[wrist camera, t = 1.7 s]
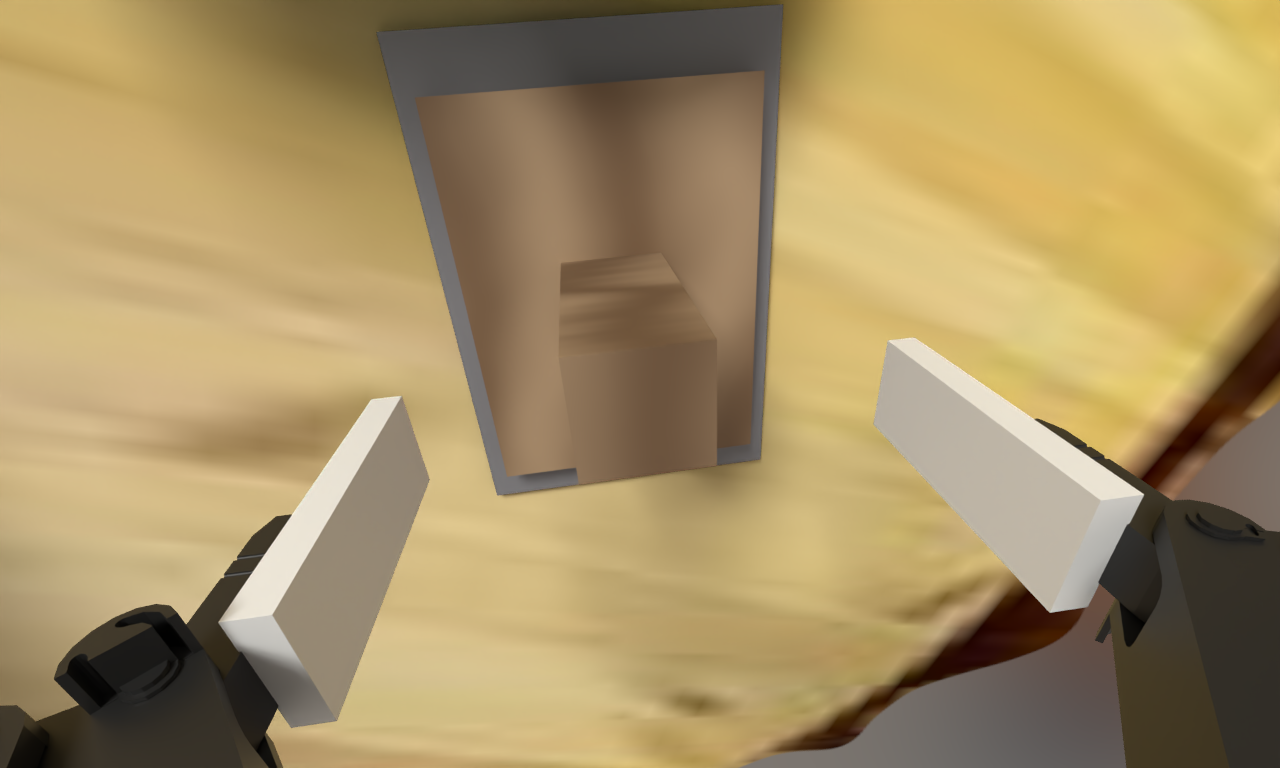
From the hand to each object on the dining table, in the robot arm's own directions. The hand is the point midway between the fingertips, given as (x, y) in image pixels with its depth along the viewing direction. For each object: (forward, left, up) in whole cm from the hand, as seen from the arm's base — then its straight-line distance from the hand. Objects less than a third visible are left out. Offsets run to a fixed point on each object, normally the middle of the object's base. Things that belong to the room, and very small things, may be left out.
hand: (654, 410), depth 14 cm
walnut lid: (0, 0, -10) cm, 10 cm away
